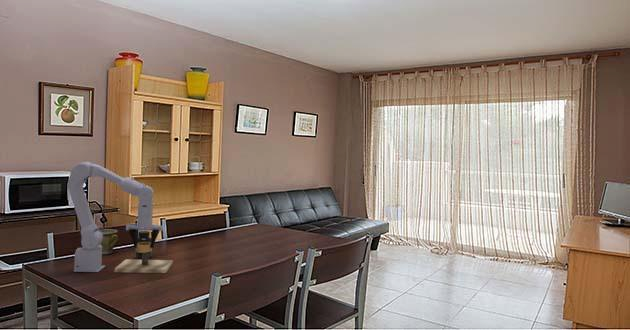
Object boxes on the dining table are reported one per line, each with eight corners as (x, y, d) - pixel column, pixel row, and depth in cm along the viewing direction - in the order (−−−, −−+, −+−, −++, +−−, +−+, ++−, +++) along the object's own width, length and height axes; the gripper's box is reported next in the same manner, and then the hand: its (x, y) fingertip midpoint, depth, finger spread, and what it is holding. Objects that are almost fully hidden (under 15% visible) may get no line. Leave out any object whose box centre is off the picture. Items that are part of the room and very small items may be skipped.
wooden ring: (134, 252, 180) (134, 245, 180) (138, 248, 186) (138, 241, 186) (149, 252, 181) (149, 245, 181) (153, 249, 187) (153, 242, 187)
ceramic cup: (88, 252, 204) (89, 231, 203) (106, 248, 213) (107, 228, 212) (107, 257, 198) (108, 235, 198) (126, 252, 207) (126, 231, 207)
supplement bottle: (133, 259, 197) (134, 233, 196) (137, 255, 203) (137, 230, 203) (149, 259, 198) (150, 233, 197) (152, 255, 204) (153, 230, 204)
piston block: (114, 272, 177) (115, 257, 177) (125, 262, 191) (125, 249, 191) (165, 273, 179) (166, 258, 179) (172, 263, 193) (173, 250, 193)
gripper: (123, 216, 178) (122, 249, 179) (160, 217, 180) (159, 250, 180) (129, 213, 185) (128, 245, 186) (164, 214, 187) (163, 246, 187)
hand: (144, 247), depth 184 cm, fingers closed on wooden ring, 6 cm apart
